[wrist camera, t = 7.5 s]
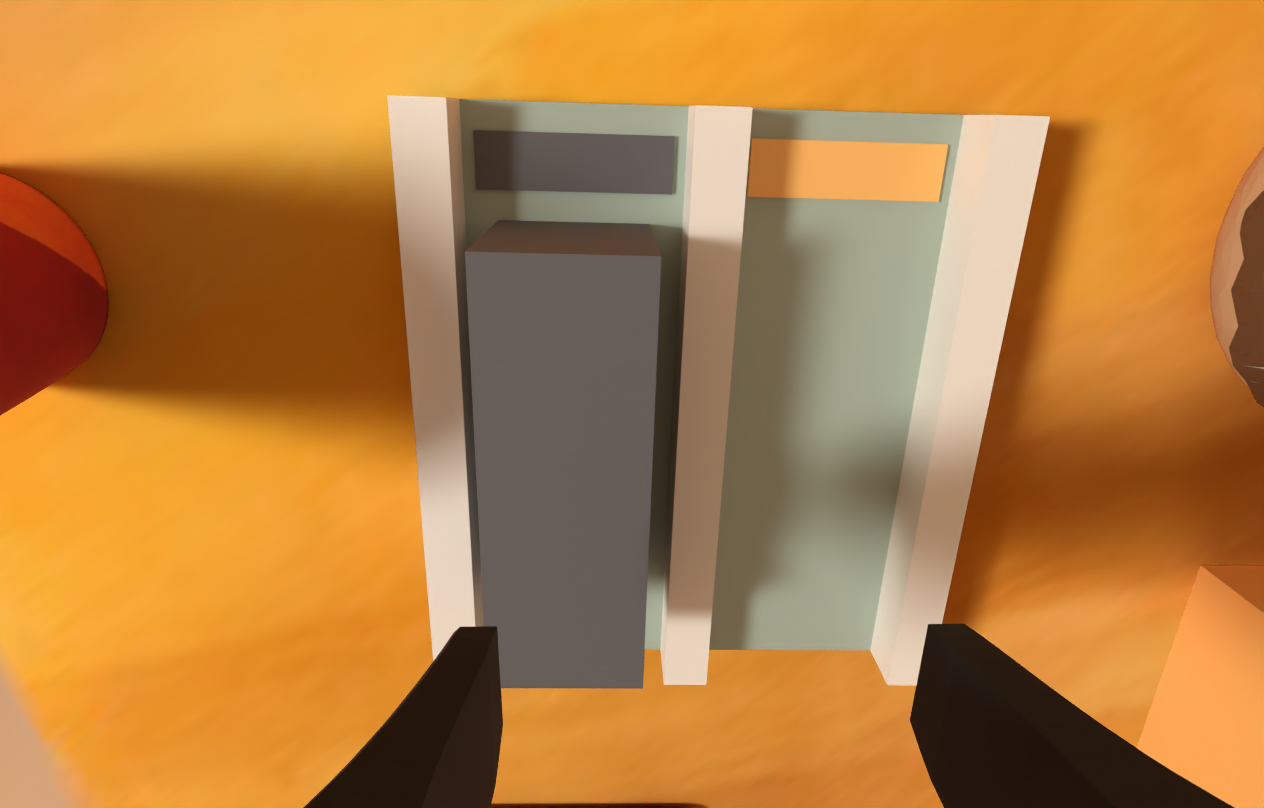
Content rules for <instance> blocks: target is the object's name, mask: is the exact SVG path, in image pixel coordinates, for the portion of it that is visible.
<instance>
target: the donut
mask: <svg viewBox="0 0 1264 808" xmlns="http://www.w3.org/2000/svg"><path fill="white" fill-rule="evenodd" d="M1210 301H1211V311H1212V316H1213V322H1214V327H1215V332H1216V337H1217V339H1218V341H1219V343H1220V345H1221V347H1222V350H1223V352H1224V354H1225V356H1226V358H1227V360H1228V362H1229V364H1230V366H1231V367H1232V369H1233V370H1234V371H1235V373H1236V374H1237V375H1238V377H1239V378H1240V379H1241V381H1242V382H1243V383H1244V384H1245V385H1246V386H1247V387H1248V388H1249V389H1250V390H1251V392H1252V394H1253V396H1254V398H1255V400H1256V402H1257V403H1259V404H1260V405H1262V406H1263V407H1264V147H1263V148H1262V150H1261V151H1260V153H1259V154H1258V156H1257V157H1256V158H1255V160H1254V161H1253V163H1252V164H1251V165H1250V167H1249V168H1248V170H1247V171H1246V172H1245V174H1244V176H1243V178H1242V179H1241V181H1240V183H1239V185H1238V187H1237V190H1236V192H1235V194H1234V196H1233V198H1232V201H1231V203H1230V205H1229V207H1228V210H1227V212H1226V215H1225V217H1224V220H1223V222H1222V225H1221V228H1220V230H1219V233H1218V235H1217V240H1216V244H1215V250H1214V256H1213V262H1212V268H1211V274H1210Z"/></svg>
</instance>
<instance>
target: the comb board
mask: <svg viewBox="0 0 1264 808" xmlns="http://www.w3.org/2000/svg"><path fill="white" fill-rule="evenodd" d="M387 97H388V109H389V122H390V134H391V146H392V159H393V171H394V183H395V196H396V208H397V220H398V232H399V245H400V257H401V269H402V282H403V294H404V306H405V319H406V331H407V343H408V355H409V368H410V380H411V392H412V405H413V417H414V429H415V442H416V454H417V466H418V478H419V491H420V503H421V515H422V528H423V540H424V552H425V564H426V577H427V589H428V601H429V614H430V626H431V638H432V651H433V661H434V660H435V659H436V657H437V656H438V654H439V653H440V652H441V650H442V649H443V647H444V646H445V644H446V643H447V642H448V640H449V639H450V637H451V636H452V634H453V633H454V632H455V631H456V630H457V629H458V628H459V627H477V626H484V620H483V600H482V580H481V561H480V541H479V521H478V501H477V482H476V462H475V442H474V422H473V402H472V383H471V363H470V343H469V323H468V304H467V284H466V264H465V251H466V250H467V249H468V248H469V247H470V246H471V245H472V244H474V243H475V242H476V241H477V240H478V239H479V238H480V237H481V236H482V235H483V234H484V233H485V232H486V231H487V230H489V229H490V228H491V227H492V226H493V225H494V224H495V223H496V222H497V221H498V220H517V221H556V222H595V223H634V224H649V225H650V228H651V230H652V233H653V236H654V238H655V241H656V244H657V246H658V249H659V252H660V254H661V275H660V299H659V322H658V345H657V369H656V392H655V416H654V439H653V463H652V486H651V509H650V533H649V556H648V580H647V603H646V626H645V649H660V650H661V660H662V670H663V680H664V685H706V681H707V669H708V656H709V650H870V651H871V653H872V655H873V657H874V659H875V661H876V663H877V665H878V667H879V669H880V671H881V673H882V675H883V677H884V679H885V681H886V683H887V685H917V680H918V675H919V670H920V664H921V659H922V654H923V648H924V643H925V638H926V632H927V627H928V624H942V621H943V617H944V612H945V607H946V602H947V598H948V593H949V588H950V584H951V579H952V574H953V570H954V565H955V560H956V556H957V551H958V546H959V542H960V537H961V532H962V528H963V523H964V518H965V513H966V509H967V504H968V499H969V495H970V490H971V485H972V481H973V476H974V471H975V467H976V462H977V457H978V453H979V448H980V443H981V439H982V434H983V429H984V424H985V420H986V415H987V410H988V406H989V401H990V396H991V392H992V387H993V382H994V378H995V373H996V368H997V364H998V359H999V354H1000V350H1001V345H1002V340H1003V335H1004V331H1005V326H1006V321H1007V317H1008V312H1009V307H1010V303H1011V298H1012V293H1013V289H1014V284H1015V279H1016V275H1017V270H1018V265H1019V261H1020V256H1021V251H1022V246H1023V242H1024V237H1025V232H1026V228H1027V223H1028V218H1029V214H1030V209H1031V204H1032V200H1033V195H1034V190H1035V186H1036V181H1037V176H1038V172H1039V167H1040V162H1041V157H1042V153H1043V148H1044V143H1045V139H1046V134H1047V129H1048V125H1049V120H1050V117H1049V116H1017V115H948V114H917V113H885V112H853V111H822V110H790V109H759V108H753V107H733V106H702V105H695V106H664V105H632V104H601V103H569V102H537V101H506V100H474V99H455V98H447V97H418V96H387Z"/></svg>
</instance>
